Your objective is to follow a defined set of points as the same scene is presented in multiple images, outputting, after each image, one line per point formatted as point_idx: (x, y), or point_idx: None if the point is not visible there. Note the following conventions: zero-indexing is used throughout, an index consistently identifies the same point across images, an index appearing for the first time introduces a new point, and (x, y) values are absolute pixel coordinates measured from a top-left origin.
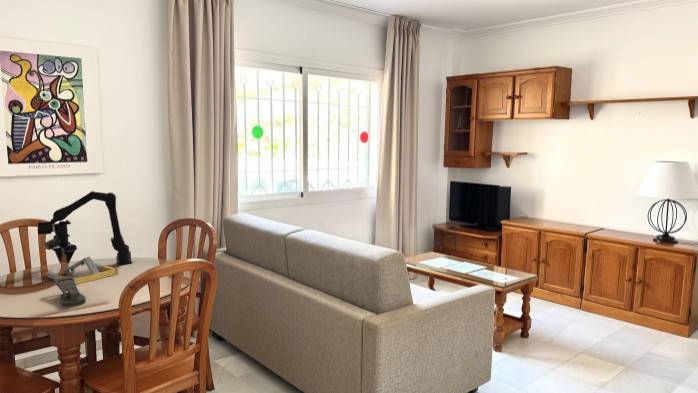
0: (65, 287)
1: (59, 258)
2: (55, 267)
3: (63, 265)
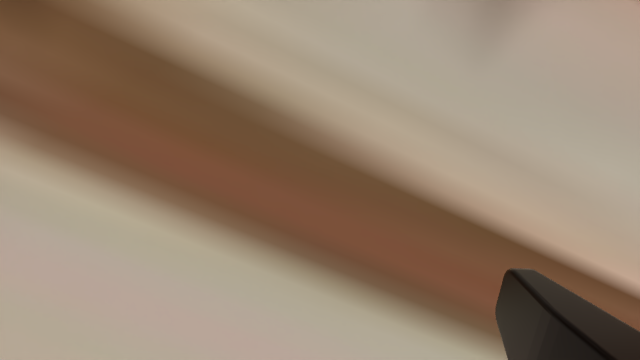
0: None
1: (539, 340)
2: (610, 160)
3: None
